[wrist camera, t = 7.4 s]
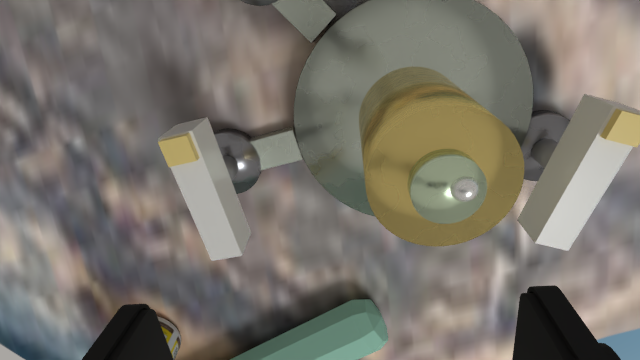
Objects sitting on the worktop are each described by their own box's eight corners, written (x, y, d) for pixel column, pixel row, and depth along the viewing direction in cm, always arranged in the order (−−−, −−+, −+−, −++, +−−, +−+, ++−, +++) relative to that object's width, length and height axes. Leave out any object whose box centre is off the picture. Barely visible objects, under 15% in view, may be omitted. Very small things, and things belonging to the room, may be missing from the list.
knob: (258, 214, 31) (240, 260, 26) (232, 219, 32) (209, 265, 26) (219, 106, 28) (189, 133, 22) (191, 113, 28) (153, 141, 23)
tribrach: (197, 179, 32) (106, 292, 20) (227, -94, 24) (103, -189, 12) (511, 253, 33) (608, 402, 21) (641, 17, 25) (922, 36, 13)
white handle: (530, 208, 30) (572, 255, 24) (503, 201, 30) (538, 247, 24) (593, 92, 26) (659, 118, 20) (561, 84, 26) (619, 108, 20)
